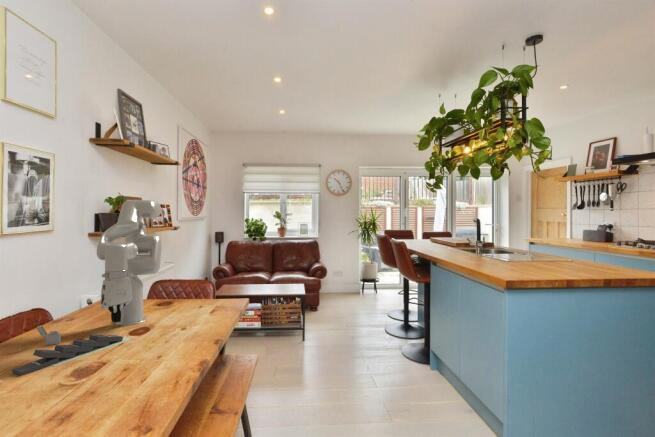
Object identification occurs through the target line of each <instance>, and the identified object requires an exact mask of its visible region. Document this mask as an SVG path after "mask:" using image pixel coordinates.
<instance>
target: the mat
mask: <svg viewBox="0 0 655 437" xmlns="http://www.w3.org/2000/svg"><path fill="white" fill-rule="evenodd" d="M122 337H123V340H122V341H110V342H109V345H108V346H94V348H93V351H87V352H75V356H74V358H59V363H56V364H54V365H51V366H50V367H57V366H59V365H62V364H65V363H67V362H71V361H74V360H76V359H79V358H82V357H85V356H87V355H91V354H94V353H97V352H100V351H103V350H105V349H108V348H111V347H114V346H116V345H120V344H123V343H126V342H128V341H131V340H132V338H131V337H130V338H129V337H125V336H122Z"/></svg>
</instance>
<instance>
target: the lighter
mask: <svg viewBox="0 0 655 437" xmlns="http://www.w3.org/2000/svg"><path fill="white" fill-rule="evenodd" d="M36 330H37V332H38V333H39V335H40V337H42V338H44V337H45V345H46V346H51V345H61V343H62V341H61V340H62V335H61V334H62V333H61V332H58V330H51V331H50V332H49V333H48V332H47V330H46V329H45V328H44V326H43V325H42V324H41V325H38V326H37V327H36Z"/></svg>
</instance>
